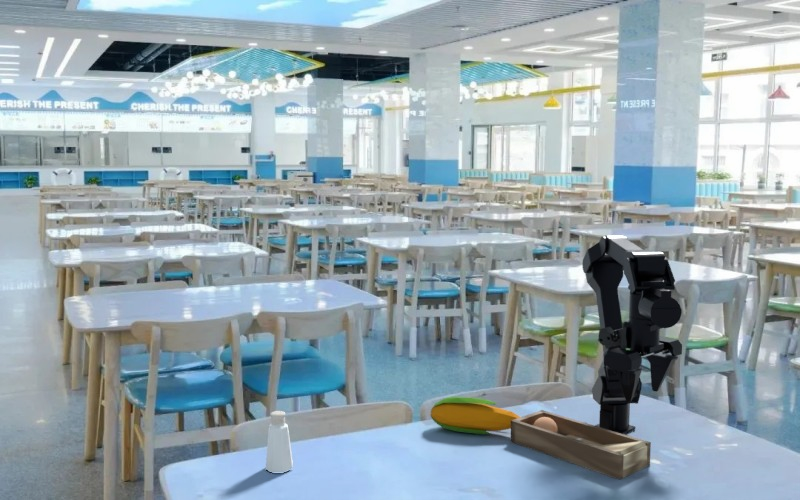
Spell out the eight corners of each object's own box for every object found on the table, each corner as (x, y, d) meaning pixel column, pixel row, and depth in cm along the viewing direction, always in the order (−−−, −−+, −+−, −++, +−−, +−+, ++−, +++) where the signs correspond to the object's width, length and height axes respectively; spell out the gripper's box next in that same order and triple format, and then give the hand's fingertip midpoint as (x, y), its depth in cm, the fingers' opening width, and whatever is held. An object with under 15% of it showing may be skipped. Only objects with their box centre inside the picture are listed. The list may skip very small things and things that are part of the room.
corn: (435, 388, 180) (526, 395, 174) (436, 420, 182) (526, 429, 176) (426, 400, 173) (520, 408, 167) (427, 434, 175) (520, 444, 169)
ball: (562, 416, 168) (542, 412, 171) (546, 422, 164) (527, 417, 168) (562, 440, 168) (543, 436, 172) (547, 446, 165) (528, 441, 168)
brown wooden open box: (541, 430, 175) (542, 408, 175) (649, 465, 156) (650, 440, 155) (510, 441, 169) (510, 418, 168) (619, 479, 149) (620, 453, 149)
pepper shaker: (298, 465, 157) (297, 409, 156) (285, 476, 152) (284, 418, 151) (273, 461, 159) (271, 406, 157) (259, 472, 154) (257, 415, 152)
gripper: (635, 304, 169) (632, 378, 171) (580, 317, 157) (578, 396, 159) (684, 312, 161) (681, 389, 163) (631, 326, 149) (628, 410, 151)
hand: (642, 395), depth 159 cm, fingers open, 9 cm apart
